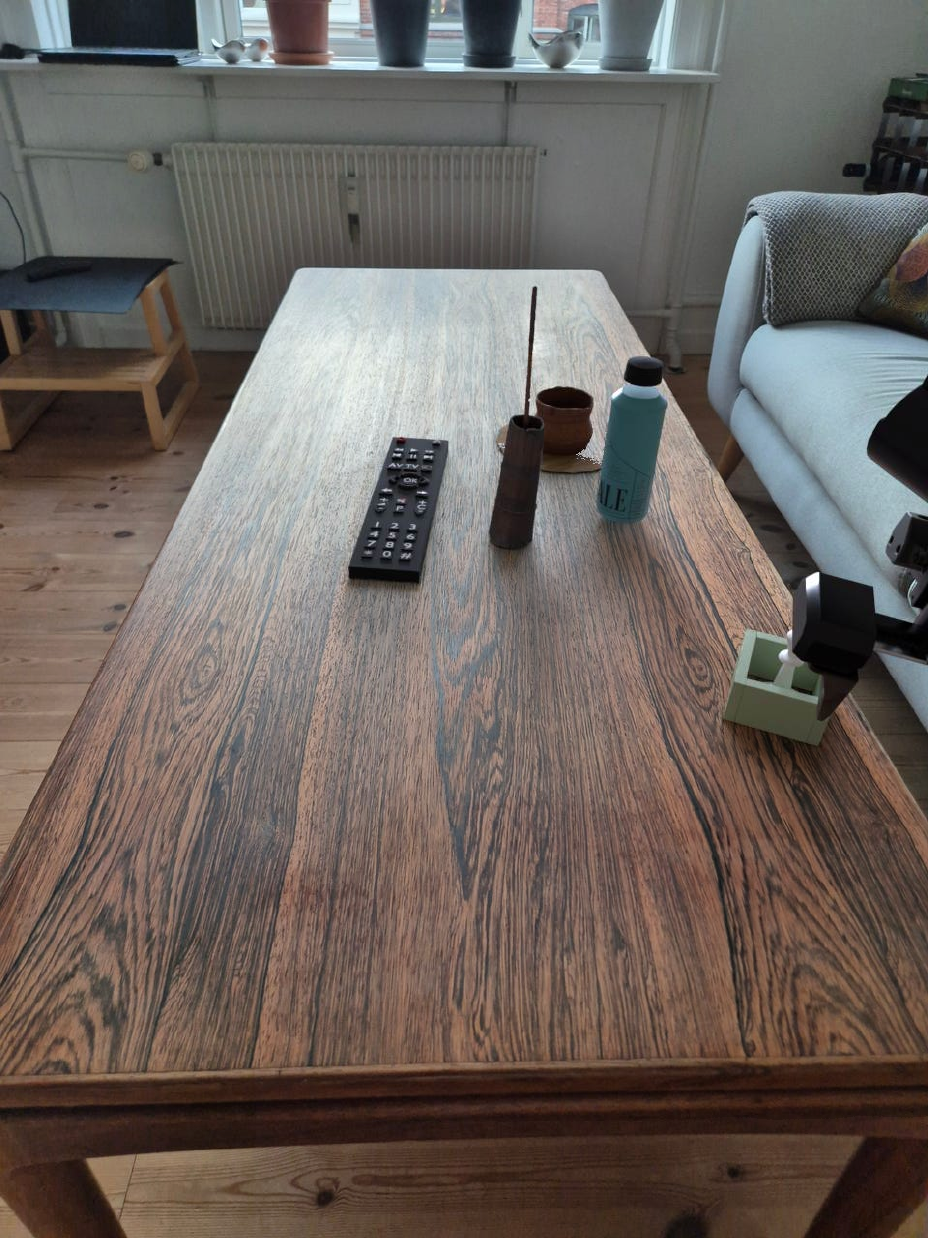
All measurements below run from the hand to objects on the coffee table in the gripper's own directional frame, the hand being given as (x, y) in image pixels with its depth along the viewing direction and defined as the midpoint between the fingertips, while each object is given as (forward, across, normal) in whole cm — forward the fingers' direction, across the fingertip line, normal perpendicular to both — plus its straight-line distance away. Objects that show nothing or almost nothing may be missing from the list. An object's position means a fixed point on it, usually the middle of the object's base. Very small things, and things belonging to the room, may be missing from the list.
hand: (887, 735), depth 57 cm
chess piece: (+15, +2, -14) cm, 20 cm away
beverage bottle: (+20, +20, -41) cm, 50 cm away
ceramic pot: (+24, +30, -60) cm, 71 cm away
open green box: (+15, +2, -14) cm, 20 cm away
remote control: (+23, +46, -36) cm, 63 cm away
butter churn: (+21, +31, -33) cm, 50 cm away
